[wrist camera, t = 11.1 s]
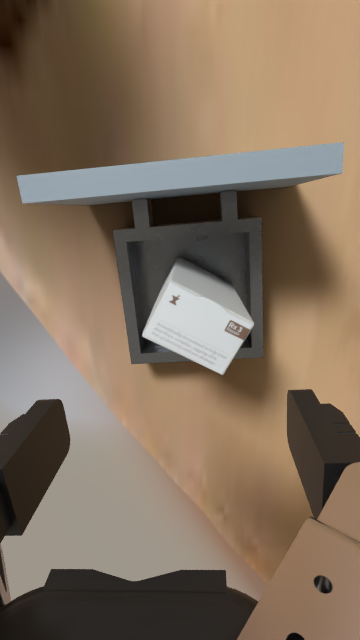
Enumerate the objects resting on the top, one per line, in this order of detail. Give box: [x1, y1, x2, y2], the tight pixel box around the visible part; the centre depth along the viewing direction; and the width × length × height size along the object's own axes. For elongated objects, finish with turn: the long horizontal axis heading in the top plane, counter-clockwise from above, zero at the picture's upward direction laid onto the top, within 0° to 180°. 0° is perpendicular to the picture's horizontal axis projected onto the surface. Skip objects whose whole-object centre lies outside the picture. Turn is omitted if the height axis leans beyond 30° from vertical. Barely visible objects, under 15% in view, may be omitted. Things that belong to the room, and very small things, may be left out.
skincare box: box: [142, 256, 254, 375], centre depth 27 cm, size 6×4×12 cm
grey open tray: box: [113, 190, 263, 364], centre depth 31 cm, size 12×14×4 cm
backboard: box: [17, 142, 344, 205], centre depth 25 cm, size 18×2×12 cm, turn 95°
